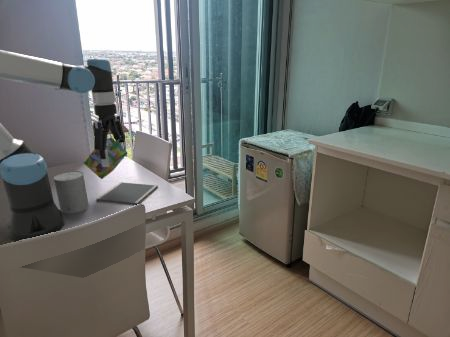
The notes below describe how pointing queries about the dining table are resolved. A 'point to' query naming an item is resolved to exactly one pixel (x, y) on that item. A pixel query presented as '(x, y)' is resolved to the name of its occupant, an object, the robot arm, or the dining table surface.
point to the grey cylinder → (71, 191)
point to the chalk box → (114, 155)
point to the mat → (127, 193)
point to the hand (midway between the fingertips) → (113, 162)
